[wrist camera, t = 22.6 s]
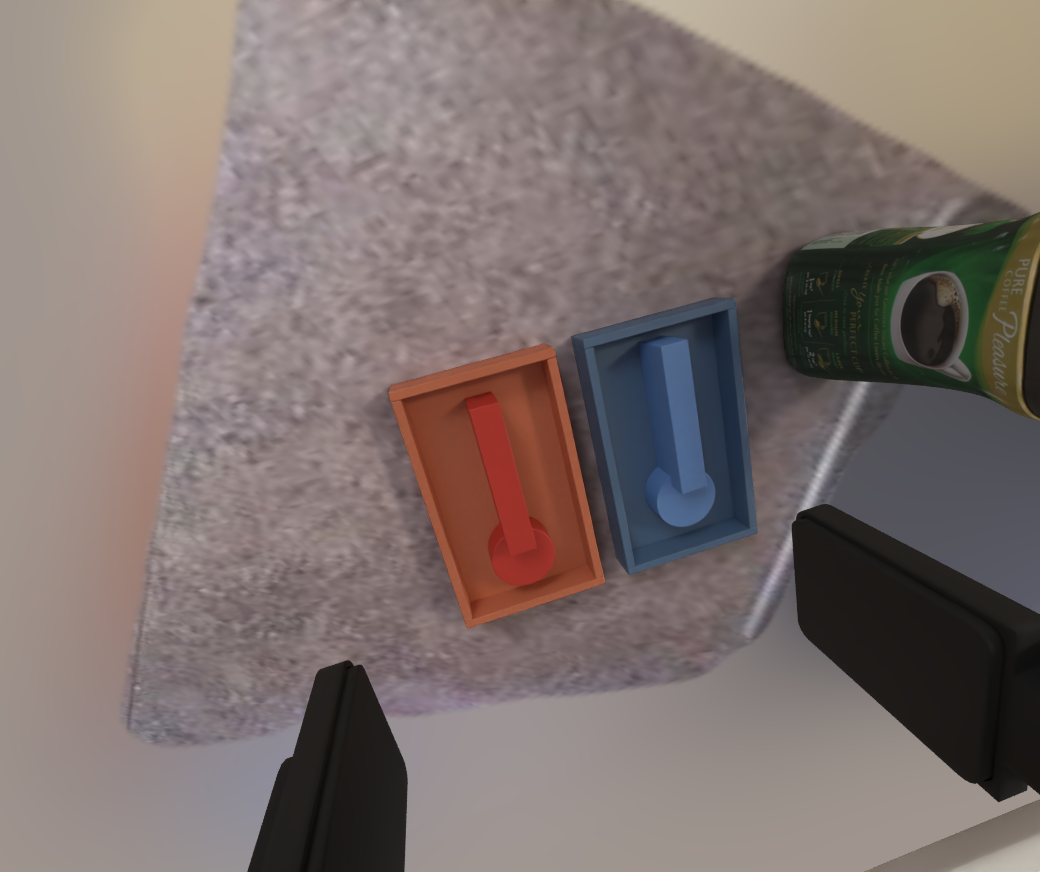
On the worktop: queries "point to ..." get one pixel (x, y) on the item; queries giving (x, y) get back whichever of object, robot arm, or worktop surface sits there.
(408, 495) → the worktop surface
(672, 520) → the blue bar with disc
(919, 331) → the coffee jar
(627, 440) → the tray blue
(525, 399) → the tray orange
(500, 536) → the red bar with disc
